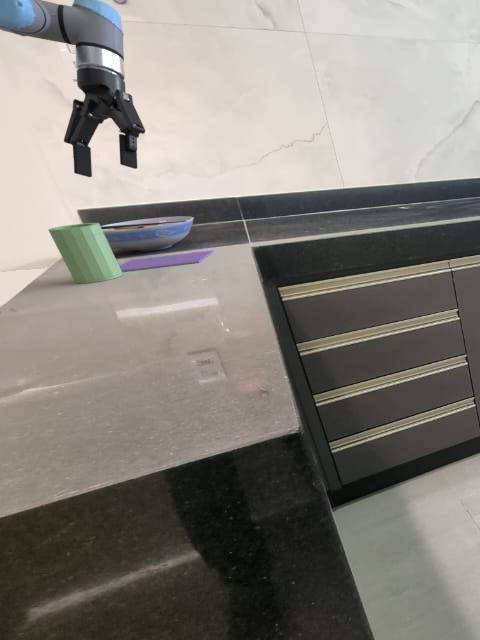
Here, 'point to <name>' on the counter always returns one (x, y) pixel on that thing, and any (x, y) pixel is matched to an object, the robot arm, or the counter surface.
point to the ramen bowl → (148, 233)
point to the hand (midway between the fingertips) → (105, 170)
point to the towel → (164, 261)
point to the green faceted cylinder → (86, 252)
